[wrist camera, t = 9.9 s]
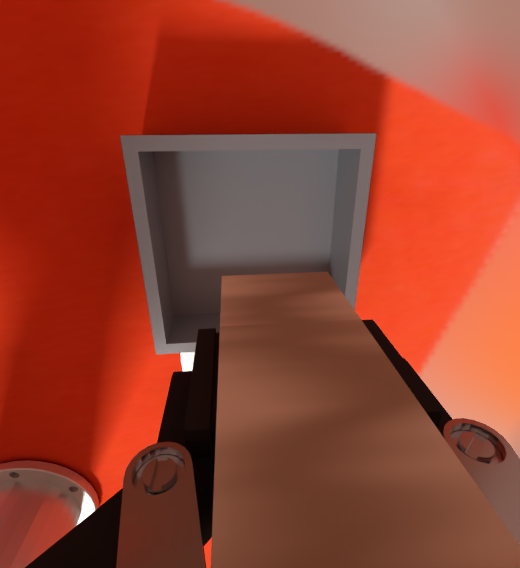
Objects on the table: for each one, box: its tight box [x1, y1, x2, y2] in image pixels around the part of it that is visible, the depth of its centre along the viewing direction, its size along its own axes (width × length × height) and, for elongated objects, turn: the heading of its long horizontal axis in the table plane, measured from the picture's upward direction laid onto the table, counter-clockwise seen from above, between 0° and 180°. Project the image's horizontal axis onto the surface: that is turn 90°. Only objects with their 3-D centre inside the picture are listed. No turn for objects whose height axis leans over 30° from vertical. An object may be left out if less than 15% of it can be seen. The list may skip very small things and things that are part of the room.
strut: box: [211, 272, 520, 568], centre depth 9 cm, size 4×4×10 cm
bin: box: [120, 133, 376, 354], centre depth 23 cm, size 14×14×5 cm
